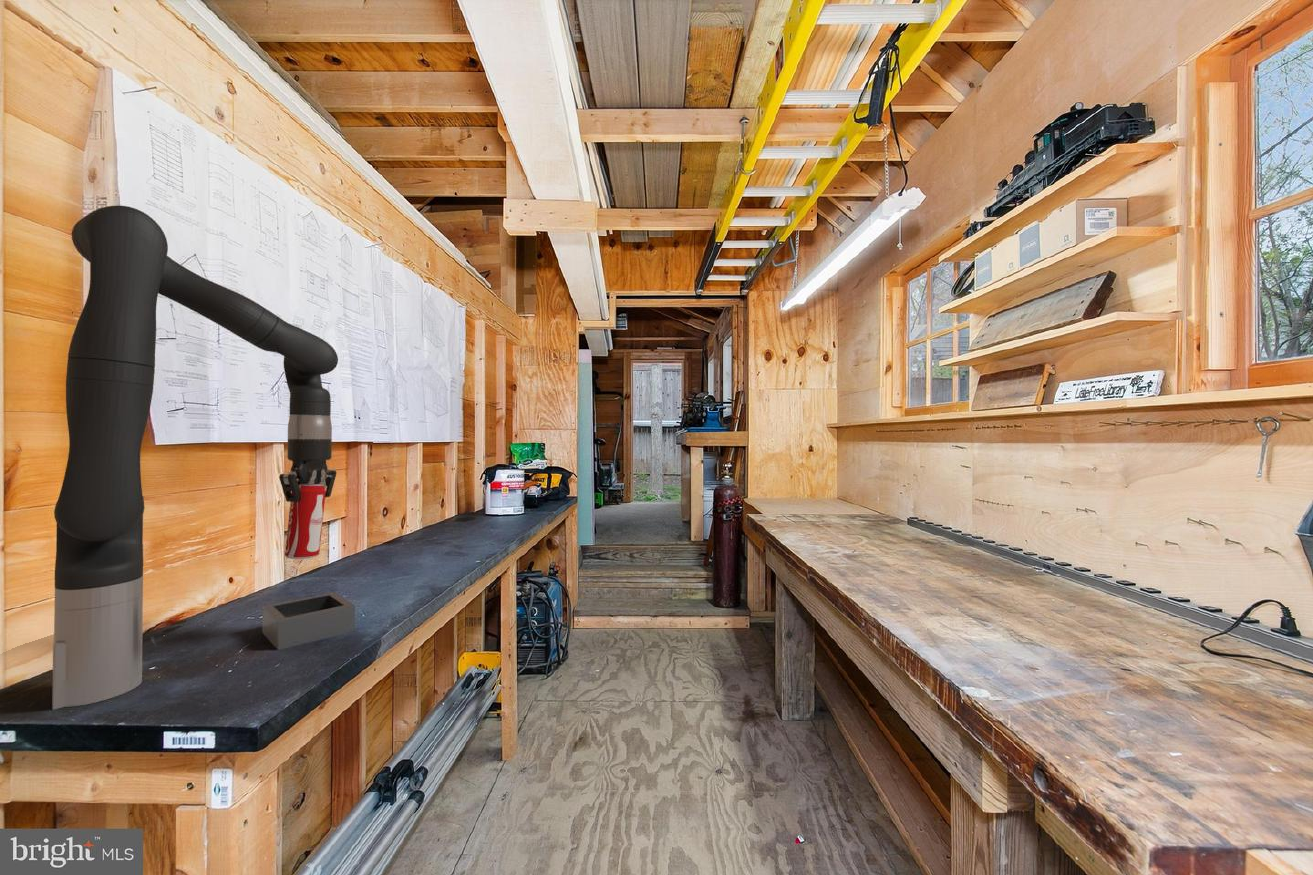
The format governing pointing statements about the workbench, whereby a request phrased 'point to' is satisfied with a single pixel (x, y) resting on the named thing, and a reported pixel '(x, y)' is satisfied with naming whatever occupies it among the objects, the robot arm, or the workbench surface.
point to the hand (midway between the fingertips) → (309, 520)
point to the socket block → (307, 620)
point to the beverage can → (305, 523)
